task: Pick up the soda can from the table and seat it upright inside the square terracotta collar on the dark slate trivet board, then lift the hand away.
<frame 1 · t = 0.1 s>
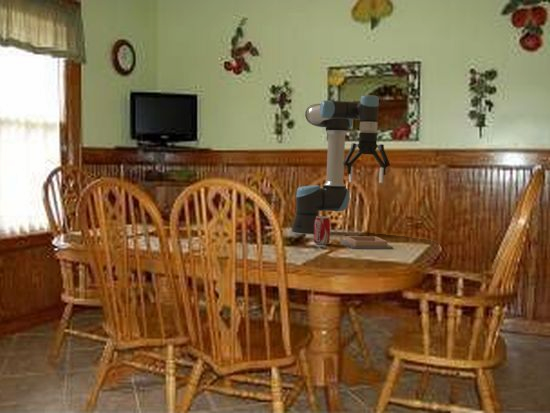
hand: (365, 182, 247), 28 cm above the table, tool pointing down, fingers open, 13 cm apart
soda can: (321, 244, 255), on the table
slate trivet: (365, 245, 255), on the table
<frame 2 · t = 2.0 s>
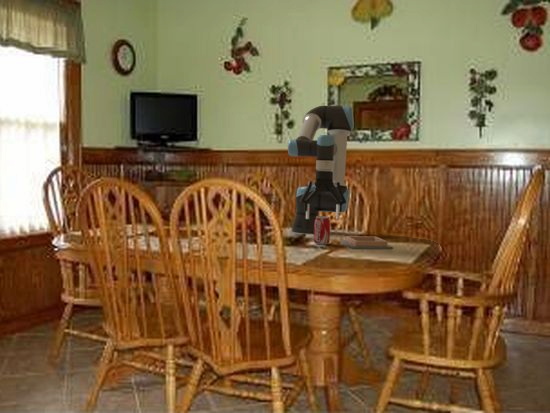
hand: (322, 219, 254), 11 cm above the table, tool pointing down, fingers open, 13 cm apart
nothing on the table moved.
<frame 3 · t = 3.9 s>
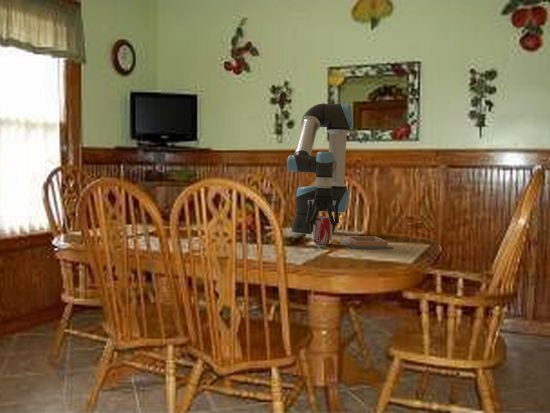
hand: (321, 239, 255), 2 cm above the table, tool pointing down, fingers closed on soda can, 7 cm apart
soda can: (321, 244, 255), on the table, touching gripper
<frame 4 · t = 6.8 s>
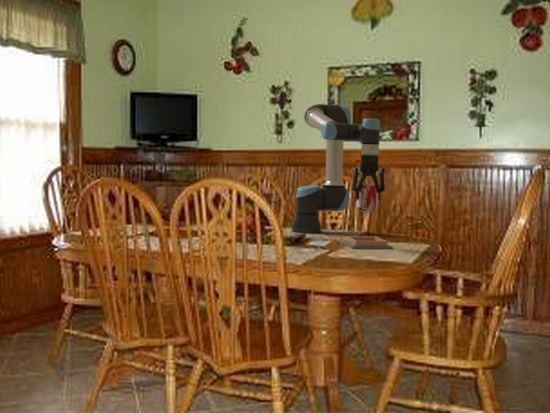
hand: (367, 207, 253), 17 cm above the table, tool pointing down, fingers closed on soda can, 7 cm apart
soda can: (367, 212, 253), point 15 cm above the table, touching gripper
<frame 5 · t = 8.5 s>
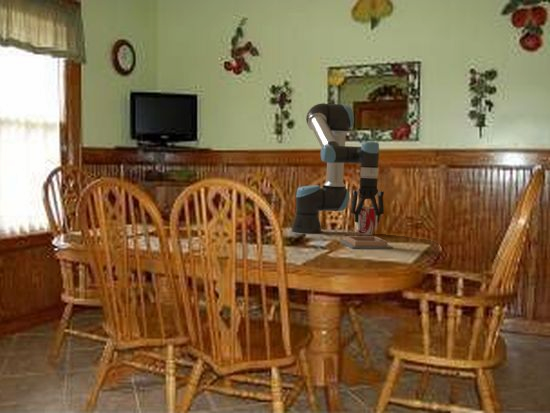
hand: (366, 229, 254), 7 cm above the table, tool pointing down, fingers closed on soda can, 7 cm apart
soda can: (366, 235, 254), point 5 cm above the table, touching gripper
when the fingers open (5 cm above the table, at t = 9.8 s): soda can drops 2 cm, resting on slate trivet.
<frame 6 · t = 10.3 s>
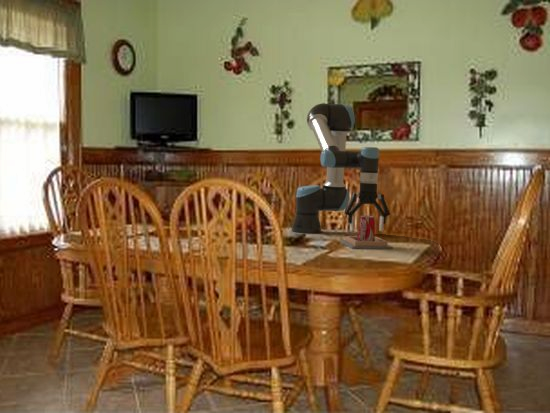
hand: (366, 231, 254), 6 cm above the table, tool pointing down, fingers open, 13 cm apart
soda can: (366, 243, 255), point 1 cm above the table, touching slate trivet
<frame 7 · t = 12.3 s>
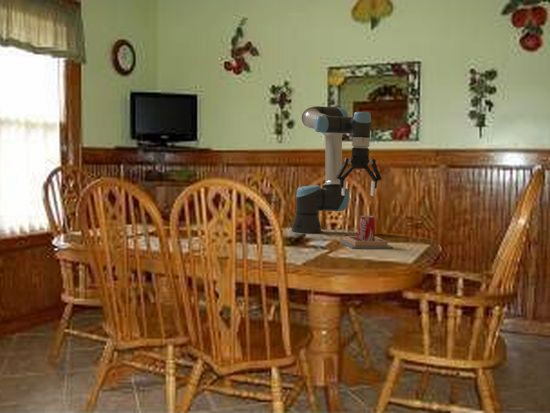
hand: (357, 195, 257), 22 cm above the table, tool pointing down, fingers open, 13 cm apart
nothing on the table moved.
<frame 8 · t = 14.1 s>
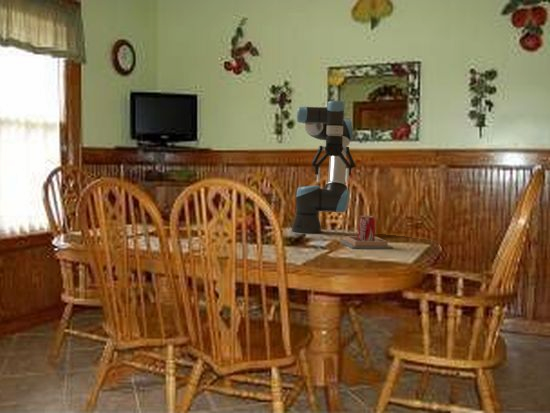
hand: (332, 182, 265), 27 cm above the table, tool pointing down, fingers open, 13 cm apart
nothing on the table moved.
at the end: soda can 0.2 cm off-centre on the slate trivet, point 0.8 cm above the slate trivet's base; soda can tilted 0°; the gripper is holding nothing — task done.
